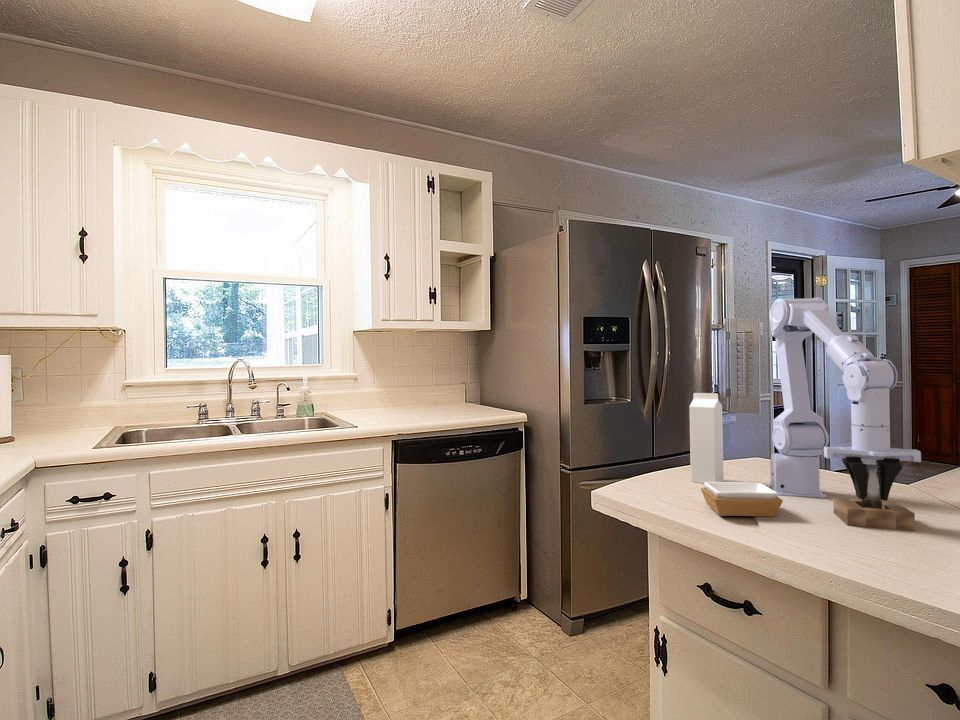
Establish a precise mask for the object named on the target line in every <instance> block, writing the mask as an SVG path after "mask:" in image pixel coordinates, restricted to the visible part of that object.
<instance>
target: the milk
mask: <svg viewBox="0 0 960 720" xmlns="http://www.w3.org/2000/svg"><path fill="white" fill-rule="evenodd" d="M723 437H724V431H723V405H722V402H720V399H719V394H718V393H716V392H714V393H713V392H693V399H692V401H691V403H690V404H689V447H690V448H689V449H690V451H689V452H690V456H689V457H690V458H689V459H690V463H689V464H690V482H692V483H698V484H703V485H705V482H724V440H723Z"/></svg>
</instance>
